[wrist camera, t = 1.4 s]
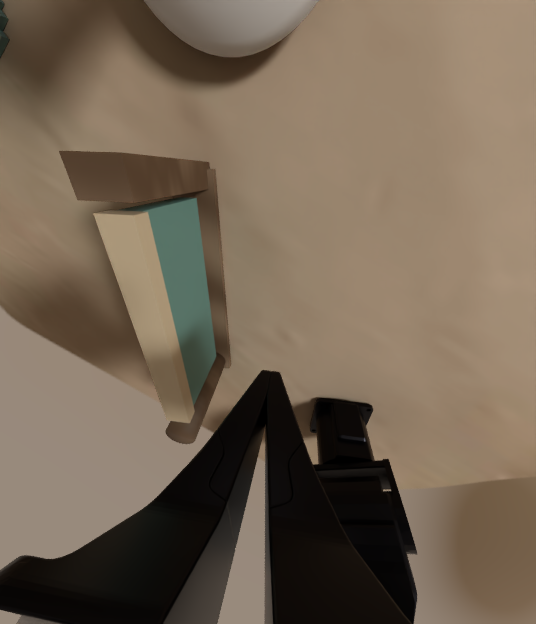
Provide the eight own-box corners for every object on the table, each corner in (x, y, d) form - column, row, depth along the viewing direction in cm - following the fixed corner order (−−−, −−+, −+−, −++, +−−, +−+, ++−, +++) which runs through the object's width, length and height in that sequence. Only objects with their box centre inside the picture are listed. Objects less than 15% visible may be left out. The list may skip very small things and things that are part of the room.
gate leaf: (219, 356, 23) (189, 423, 17) (202, 354, 23) (166, 420, 17) (200, 198, 15) (133, 215, 9) (175, 197, 16) (93, 213, 9)
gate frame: (231, 365, 26) (202, 446, 18) (204, 362, 26) (164, 440, 18) (214, 162, 15) (131, 152, 8) (170, 160, 16) (48, 150, 8)
